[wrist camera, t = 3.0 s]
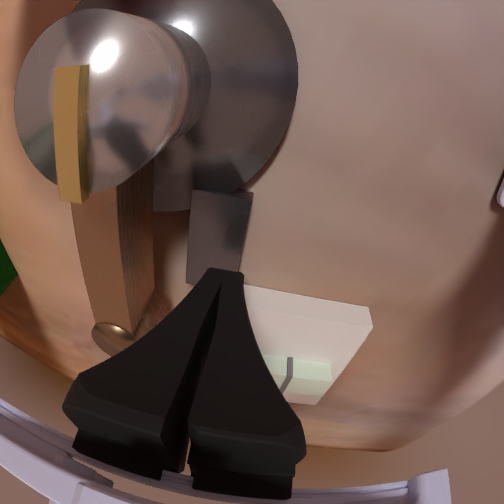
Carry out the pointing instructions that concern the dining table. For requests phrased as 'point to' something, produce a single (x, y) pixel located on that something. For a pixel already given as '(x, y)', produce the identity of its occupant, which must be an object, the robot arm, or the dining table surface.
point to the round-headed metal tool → (110, 146)
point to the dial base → (223, 118)
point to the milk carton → (5, 270)
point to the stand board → (305, 339)
